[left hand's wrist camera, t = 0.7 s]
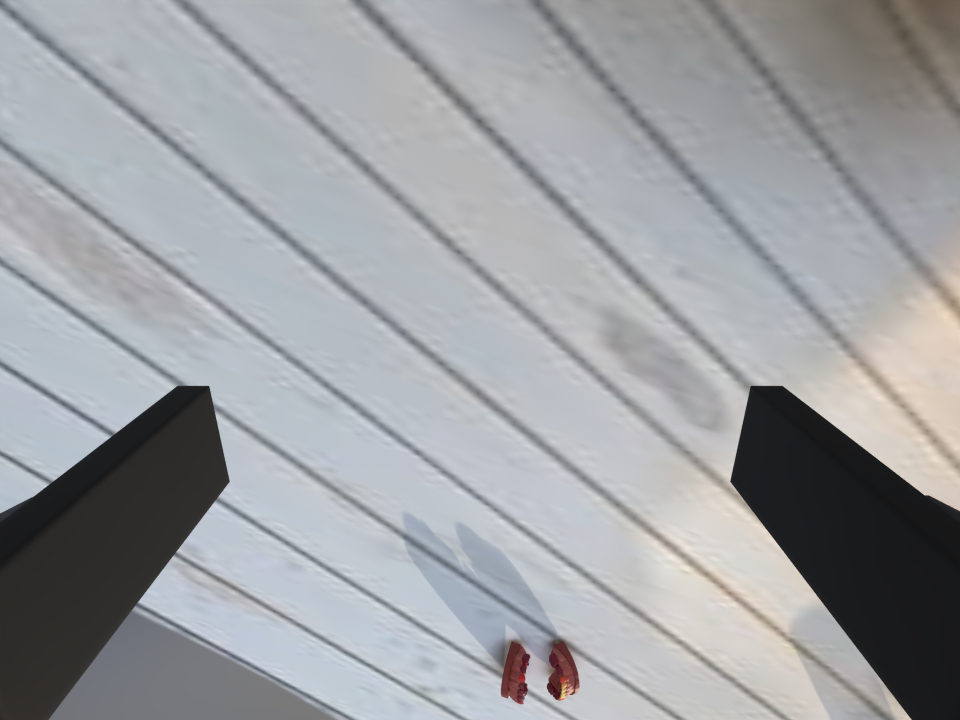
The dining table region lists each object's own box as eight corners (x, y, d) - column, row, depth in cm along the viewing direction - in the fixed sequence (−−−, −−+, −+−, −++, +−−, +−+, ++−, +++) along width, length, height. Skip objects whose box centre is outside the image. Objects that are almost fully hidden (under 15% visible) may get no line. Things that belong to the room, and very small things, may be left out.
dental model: (579, 716, 53) (500, 716, 52) (571, 678, 57) (498, 679, 56) (583, 675, 51) (502, 675, 51) (575, 639, 55) (499, 639, 55)
